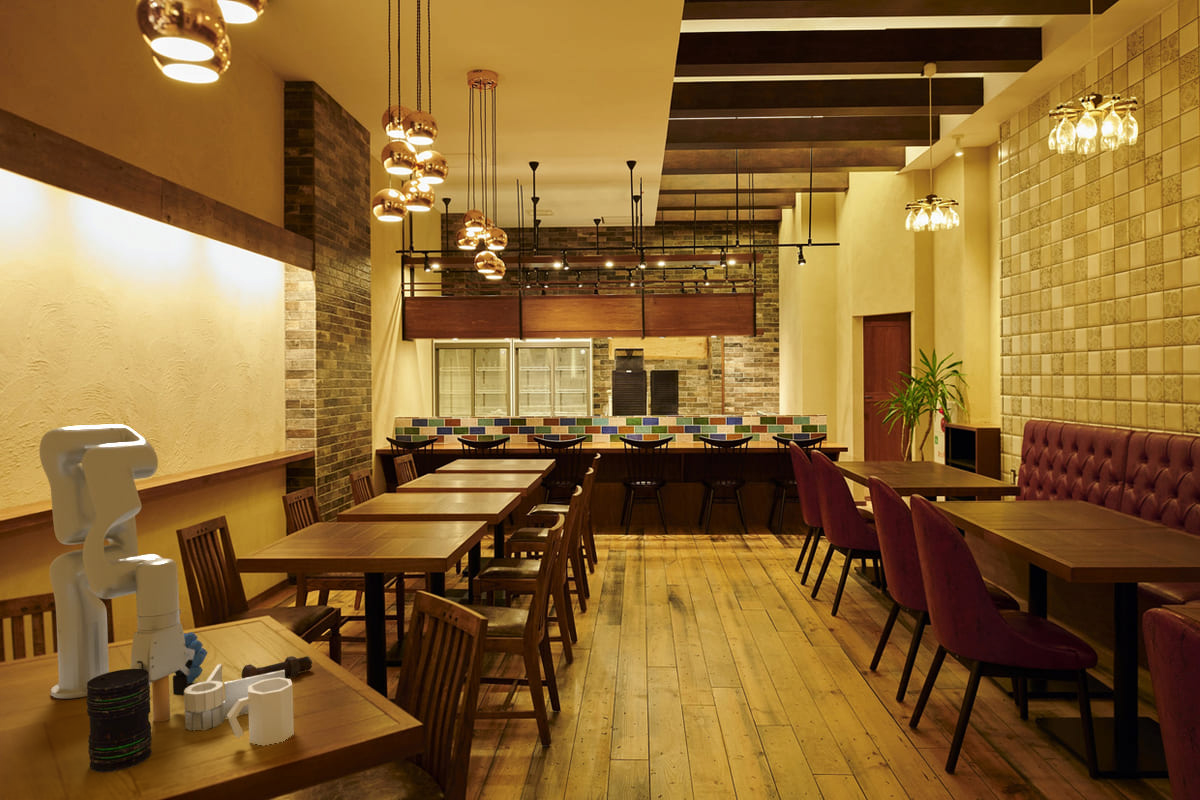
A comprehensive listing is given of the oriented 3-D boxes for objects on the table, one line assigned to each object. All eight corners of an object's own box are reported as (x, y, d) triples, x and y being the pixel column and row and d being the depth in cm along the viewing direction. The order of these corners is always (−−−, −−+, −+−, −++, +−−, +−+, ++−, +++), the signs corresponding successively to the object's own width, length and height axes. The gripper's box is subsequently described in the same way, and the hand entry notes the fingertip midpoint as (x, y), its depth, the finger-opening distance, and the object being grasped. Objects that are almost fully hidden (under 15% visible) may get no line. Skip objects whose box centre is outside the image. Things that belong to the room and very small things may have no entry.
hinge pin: (152, 718, 161) (151, 674, 161) (169, 714, 163) (167, 671, 163) (154, 723, 159) (152, 679, 159) (170, 719, 160) (169, 675, 160)
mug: (283, 722, 157) (281, 674, 157) (302, 735, 151) (301, 684, 151) (220, 743, 149) (219, 692, 149) (239, 757, 143) (237, 704, 143)
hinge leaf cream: (219, 726, 156) (218, 691, 155) (181, 731, 154) (180, 695, 154) (237, 694, 172) (236, 662, 172) (203, 697, 171) (202, 665, 171)
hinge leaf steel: (183, 721, 159) (182, 686, 159) (281, 699, 170) (280, 665, 169) (187, 733, 153) (186, 696, 153) (289, 709, 164) (288, 675, 164)
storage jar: (162, 746, 148) (160, 667, 148) (133, 771, 139) (130, 687, 138) (109, 748, 148) (106, 669, 148) (76, 773, 138) (73, 689, 138)
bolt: (311, 679, 186) (247, 696, 176) (302, 664, 190) (239, 680, 179) (317, 660, 185) (252, 676, 174) (308, 645, 188) (244, 660, 177)
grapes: (220, 682, 180) (218, 631, 180) (190, 692, 175) (188, 638, 175) (197, 672, 187) (195, 622, 187) (167, 681, 182) (165, 629, 182)
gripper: (176, 608, 170) (180, 687, 170) (107, 632, 153) (111, 720, 153) (205, 609, 168) (208, 689, 168) (138, 634, 151) (142, 722, 151)
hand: (162, 703), depth 161 cm, fingers open, 9 cm apart
